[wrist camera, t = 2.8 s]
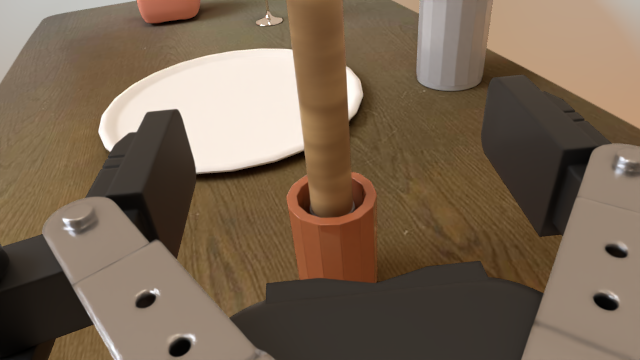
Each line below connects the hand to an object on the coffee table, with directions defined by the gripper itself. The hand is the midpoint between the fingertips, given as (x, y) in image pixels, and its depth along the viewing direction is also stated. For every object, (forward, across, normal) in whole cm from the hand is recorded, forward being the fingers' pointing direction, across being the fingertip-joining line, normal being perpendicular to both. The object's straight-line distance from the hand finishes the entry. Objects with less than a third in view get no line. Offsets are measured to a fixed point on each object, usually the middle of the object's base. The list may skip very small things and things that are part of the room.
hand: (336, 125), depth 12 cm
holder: (+10, 0, +18) cm, 20 cm away
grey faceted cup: (+39, -16, +17) cm, 46 cm away
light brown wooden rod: (+10, 0, +17) cm, 20 cm away
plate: (+38, +9, +18) cm, 43 cm away
